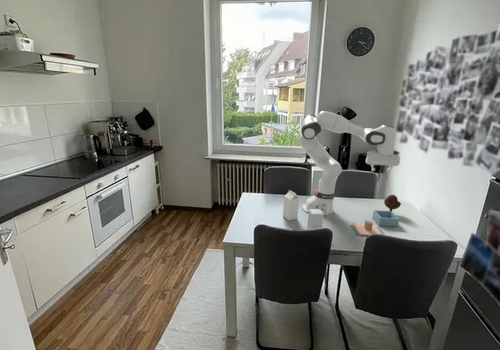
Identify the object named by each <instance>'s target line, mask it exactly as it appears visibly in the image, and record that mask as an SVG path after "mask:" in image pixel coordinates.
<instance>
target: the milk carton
mask: <svg viewBox="0 0 500 350" xmlns="http://www.w3.org/2000/svg"><path fill="white" fill-rule="evenodd" d="M299 204H300V197H298V196H297V193H296V192H294V191H292V190H290V189H288V192H287V193H286V194H285V195H284V199H283V211H282V217H283V218H284V219H286V220H287V221H293V220H297V219H298V214H299V206H300V205H299Z"/></svg>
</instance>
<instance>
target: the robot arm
mask: <svg viewBox="0 0 500 350" xmlns="http://www.w3.org/2000/svg"><path fill="white" fill-rule="evenodd" d="M300 128H301V129H300V132H301V133H300V135H299V137H298V138H297V139H298V144H299V145H300V146H301V149H302V150H303V151H304V152H305V153H306V154H307V155H308V157H310V158H311V160H312V161H313V162H314V163H315V164H316V165H317V167H318V168H319V169H320V170H321V171H322V176H321V178H320V179H319V180H318V188H317V189H314V190H313V193H314V195H313V196H310V197H308V198H307V200H306V201H305V202H306V203H303V204H302V210H303V211H304V212H305V213H308V214H309V209H320V210H321V211H322V213H323V214H324V216H329V214H333V213H334V211H335V210H334V199H335V188H336V183H337V180H338V177H339V176H340V174H342V171H343V169H342V166H341V164H340V162H339V161H337V160H336V159H334V158H333V157H332V156H331V155H330V154H329V153H328V151H327V150H326V148H325V147H324V146H323V145H322V144H321V142H320V141H318V139H317V138H316V137H317V136H318V135H319V133H321V131H322V129H323V130H327V131H329V132H332V133H336V134H343V133H347V134H351V135H354V136H357V137H358V138H360V140H361V141H363V142H364V143H366V144H367V145H368V146H376V149H370V150H367V152H366V158H365V163H366V164H367V165H370V167H371V172H375V171H376V168H375V166H388V168H386V172H387V173H390V172H391V169H392V168H393V167H394V166H395V167H398V166H399V165H400V162H401V157H400V154H401V152H400V150H397V149H394V142H395V137H396V128H395V127H394V126H392V125H388V124H382V125H380V126H379V127H376V128H374V127H371V126H370V127H369V126H368V127H366V126H365V127H362V126H359V125H356V124H353V123H352V122H350V121H349V120H348V119H347V118H345V117H344V116H343V115H339V114H337V113H334V112H332V111H327V110H321V111H320V112H319V113H318V114H317V115H314V114H312V113H311V114H307V115H305V117H303V119H302V122H301V127H300Z"/></svg>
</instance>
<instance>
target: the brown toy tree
mask: <svg viewBox="0 0 500 350" xmlns="http://www.w3.org/2000/svg"><path fill="white" fill-rule="evenodd" d="M383 203H384V206H385V207H387V208H388V209H389V210H388V211H392V212H393V210H396V209H397V210H398V209H399V208H400V207H401V205H402V202H400V201H399V200H398V196H396V195H395V194H389V195H388V196H387V197H386V198H385V199H384V201H383Z"/></svg>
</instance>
